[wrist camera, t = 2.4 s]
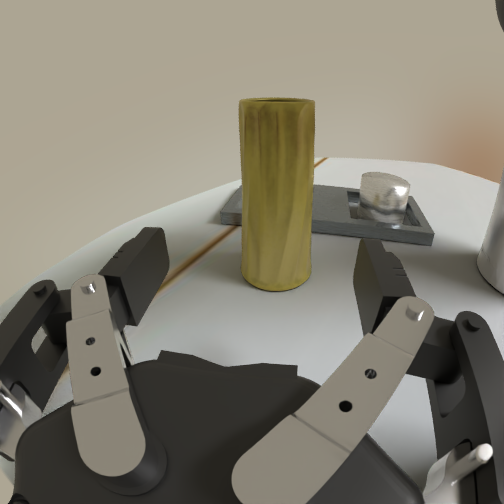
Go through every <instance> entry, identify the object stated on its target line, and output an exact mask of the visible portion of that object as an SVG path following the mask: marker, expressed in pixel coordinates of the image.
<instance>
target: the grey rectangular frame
mask: <svg viewBox="0 0 504 504" xmlns="http://www.w3.org/2000/svg"><path fill="white" fill-rule="evenodd" d="M409 189H410V184H409V183H408V182H407V181H406V180H404V179H402V178H400V177H397V176H395V175H391V174H387V173H380V172H368V173H364V174H363V175H362V179H361V187H360V189H353V188H344V187H334V186H324V185H313V203H312V224H311V232H317V233H327V234H336V235H346V236H355V237H364V238H373V239H381V240H390V241H398V242H406V243H414V244H422V245H430V246H431V245H432V241H433V238H434V232H433V230H432V228H431V227H430V225H429V223H428V221H427V220H426V218H425V216H424V215H423V213H422V211H421V210H420V208H419V206H418V205H417V203H416V202H415V200H414V198H413V197H412V196H408V195H409ZM348 201H349V202H358V211H357V217H358V218H359V219H352V218H351V217H350V210H349V202H348ZM405 211H406V213H407V215H408V217H409V219H410V221H411V223H412V225H413V226H410V225H402V224H403V220H404V215H405ZM221 223H222V224H230V225H242V185H241V186H240V187H239V189H238V190H237V191H236V193H235V194H234V195H233V196H232V198H231V199H230V200H229V202H228V203H227V204H226V205H225V207H224V208H223V209H222V211H221Z"/></svg>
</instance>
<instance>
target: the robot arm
mask: <svg viewBox="0 0 504 504" xmlns="http://www.w3.org/2000/svg"><path fill="white" fill-rule="evenodd" d="M495 1H496V10H497V15H498V19H499V22H500V25H501V27H502V29H503V31H504V0H495ZM477 266H478V268H479V271H480V272H481V274H482V275H483V277H484V278H485V279H486V280H487V281H488V282H489V283H490V284H491V285H492V286H493V287H494V288H496V289H497V290H498V291H500V292H501V293H503V294H504V168H503V173H502V177H501V182H500V186H499V190H498V194H497V198H496V202H495V206H494V209H493V213H492V216H491V220H490V223H489V226H488V229H487V232H486V235H485V238H484V241H483V244H482V247H481V250H480V252H479V255H478V258H477ZM168 270H169V256H168V251H167V245H166V240H165V234H164V231H163V229H162V228H156V227H145V228H143V229H142V230H141V231H140V233H139V234H138V235H137V236H136V237H135V238H133V239H131V240H129V241H128V242H126V243H125V244H123V246H122V247H121V248H120V249H119V250H118V252H116V253H115V255H114V256H113V258H111V259H110V260H109V262H108V263H107V264H106V265H105V266H104V267H103V269H102V270H101V271H100V272H99V273H98V274H92V275H87V276H84V277H82V278H80V279H79V280H77V281H76V282H75V283H74V284H73V286H72V288H71V289H70V290H61V291H58V290H57V287H56V285H55V283H54V282H53V281H52V280H42V281H40V282H37V283H36V284H34V285H33V286H31V287H30V288H29V290H28V291H27V292H26V293H25V294H24V296H23V297H22V298H21V299H20V300H19V302H18V303H17V304H16V305H15V307H14V308H13V309H12V310H11V312H10V313H9V314H8V315H7V317H6V318H5V319H4V321H3V322H2V323H1V325H0V455H1V456H3V457H4V458H5V459H7V460H9V461H15V484H14V491H13V495H12V498H11V500H10V501H9V503H8V504H504V360H503V358H502V355H501V353H500V351H499V348H498V346H497V343H496V341H495V339H494V337H493V334H492V332H491V330H490V328H489V326H488V324H487V322H486V321H485V320H484V319H483V318H482V317H481V316H480V315H478V314H476V313H474V312H470V311H463V312H460V313H459V314H458V315H457V317H456V319H455V321H450V320H446V319H442V318H439V317H436V316H434V311H433V309H432V308H431V306H430V305H429V304H428V303H427V302H425V301H424V300H422V299H419V298H417V297H416V295H415V293H414V290H413V288H412V286H411V284H410V281H409V279H408V277H406V273H405V270H403V266H402V264H401V262H400V260H399V259H398V258H397V257H396V256H395V255H394V254H393V253H391V252H386V251H385V249H384V247H383V245H382V243H381V241H380V239H367V238H362V239H361V240H360V244H359V249H358V254H357V259H356V264H355V269H354V276H353V285H354V290H355V295H356V300H357V304H358V309H359V314H360V319H361V325H362V330H363V335H364V338H363V339H362V340H361V341H360V342H359V344H358V345H357V346H356V347H355V348H354V350H353V351H352V352H351V353H350V354H349V356H348V357H347V358H346V359H345V360H344V361H343V363H342V364H341V365H340V366H339V367H338V368H337V369H336V371H335V372H334V373H333V374H332V375H331V376H330V377H329V378H328V379H327V381H326V382H325V383H324V384H323V385H322V386H320V385H319V384H317V383H315V382H313V381H311V380H309V379H306V378H304V377H301V376H297V368H298V365H282V364H268V363H259V364H250V365H240V366H230V367H225V366H221V365H218V364H215V363H212V362H209V361H207V360H204V359H201V358H199V357H196V356H193V355H189V354H182V353H176V352H170V351H164V350H161V352H160V354H159V357H158V359H157V360H149V361H144V362H140V363H137V364H135V363H134V360H133V357H132V354H131V351H130V347H129V344H128V341H127V337H126V334H125V332H124V327H125V325H131V326H138V324H139V322H140V320H141V319H142V317H143V315H144V313H145V311H146V310H147V308H148V306H149V304H150V303H151V301H152V299H153V297H154V296H155V294H156V292H157V290H158V289H159V287H160V285H161V284H162V282H163V280H164V278H165V277H166V275H167V273H168ZM41 326H42V328H43V330H44V331H45V333H46V335H47V336H46V338H45V339H44V341H43V343H42V344H41V346H40V347H39V349H38V350H37V352H36V354H34V352H33V350H32V347H31V342H32V339H33V337H34V335H35V334H36V332H37V331H38V329H39V328H40V327H41ZM68 361H69V368H70V377H71V384H72V391H73V398H74V400H72V401H70V402H69V403H67V404H65V405H63V406H62V407H60V408H58V409H56V410H55V411H53V412H51V413H49V414H48V415H46V416H44V417H42V412H43V410H44V408H45V406H46V404H47V402H48V400H49V398H50V396H51V394H52V392H53V390H54V388H55V386H56V384H57V382H58V380H59V378H60V376H61V374H62V373H63V371H64V369H65V367H66V365H67V363H68ZM405 374H409V375H413V376H418V377H422V378H426V383H427V388H428V394H429V399H430V405H431V411H432V417H433V424H434V432H435V439H436V448H437V458H438V461H437V462H435V463H434V464H433V465H432V467H431V468H430V470H429V472H428V475H427V482H426V487H425V489H424V491H423V493H422V492H421V490H420V489H419V487H418V486H417V485H416V484H415V483H414V482H413V481H412V480H411V479H410V478H409V476H408V475H407V474H406V473H405V472H404V471H403V470H402V469H401V468H400V467H399V466H398V465H397V464H396V463H395V462H394V461H393V460H392V459H391V458H390V457H389V456H388V455H387V454H386V452H385V451H384V450H383V449H382V448H381V447H380V446H379V445H378V444H377V443H376V442H375V441H374V440H373V439H372V438H371V437H370V435H369V434H368V433H367V431H368V430H369V429H370V427H371V426H372V424H373V423H374V422H375V420H376V419H377V417H378V416H379V414H380V413H381V411H382V410H383V408H384V407H385V405H386V404H387V402H388V401H389V399H390V398H391V396H392V395H393V393H394V391H395V390H396V388H397V386H398V385H399V383H400V382H401V380H402V378H403V376H404V375H405ZM463 377H464V378H463Z"/></svg>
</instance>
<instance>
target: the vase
mask: <svg viewBox="0 0 504 504" xmlns="http://www.w3.org/2000/svg"><path fill="white" fill-rule="evenodd" d="M239 132H240V151H241V171H242V263H241V272H242V275H243V277H244V278H245V279H246V280H247V281H248V282H249V283H250V284H252V285H254V286H256V287H258V288H261V289H264V290H269V291H284V290H290V289H293V288H296V287H298V286H300V285H301V284H303V283H304V282H305V281H306V280H307V279H308V278H309V276H310V274H311V224H312V203H313V180H314V135H315V102H314V101H313V100H308V99H297V98H250V99H242V100H240V101H239Z"/></svg>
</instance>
